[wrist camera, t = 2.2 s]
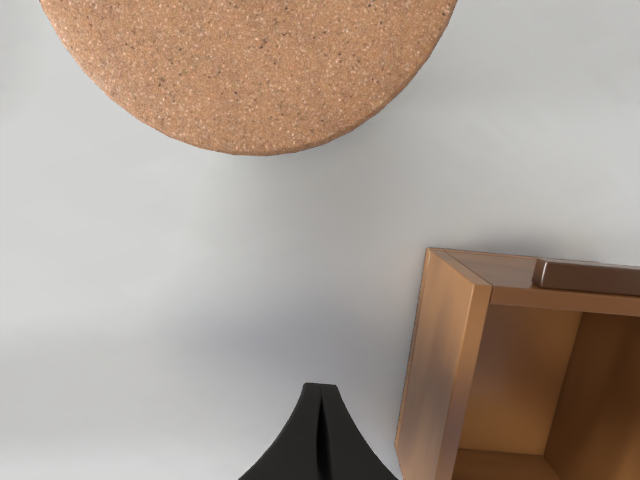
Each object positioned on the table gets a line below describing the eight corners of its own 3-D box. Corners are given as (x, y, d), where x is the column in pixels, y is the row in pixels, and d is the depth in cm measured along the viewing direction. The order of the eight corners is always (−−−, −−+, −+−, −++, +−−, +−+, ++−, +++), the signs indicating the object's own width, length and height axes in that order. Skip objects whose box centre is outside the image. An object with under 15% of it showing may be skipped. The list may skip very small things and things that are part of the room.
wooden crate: (541, 471, 20) (620, 581, 15) (391, 459, 20) (417, 566, 15) (605, 243, 17) (733, 279, 12) (429, 227, 17) (479, 256, 12)
